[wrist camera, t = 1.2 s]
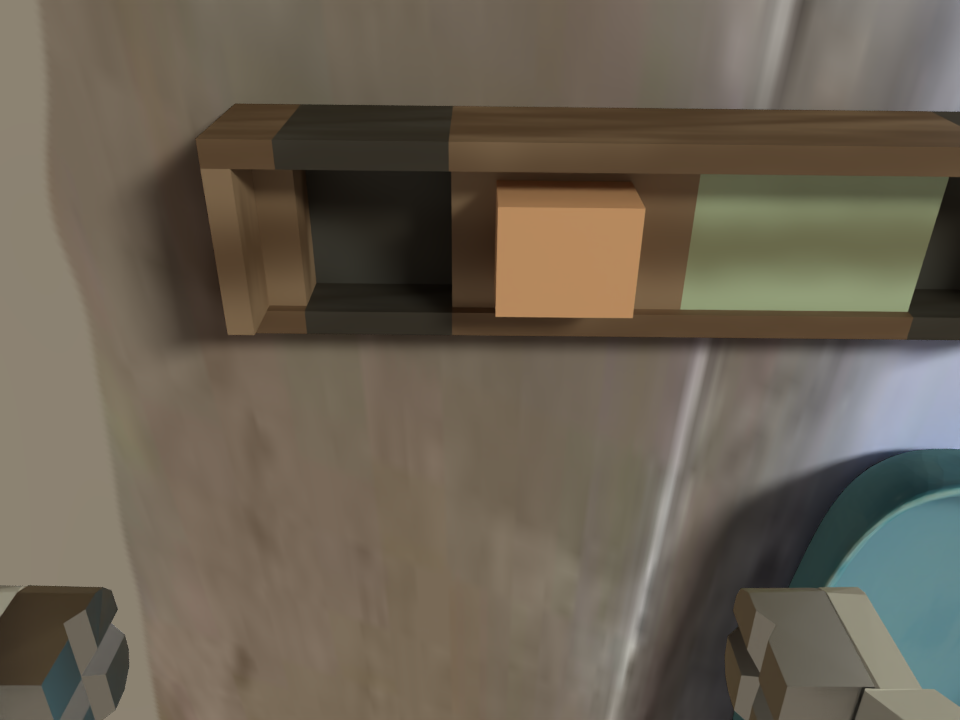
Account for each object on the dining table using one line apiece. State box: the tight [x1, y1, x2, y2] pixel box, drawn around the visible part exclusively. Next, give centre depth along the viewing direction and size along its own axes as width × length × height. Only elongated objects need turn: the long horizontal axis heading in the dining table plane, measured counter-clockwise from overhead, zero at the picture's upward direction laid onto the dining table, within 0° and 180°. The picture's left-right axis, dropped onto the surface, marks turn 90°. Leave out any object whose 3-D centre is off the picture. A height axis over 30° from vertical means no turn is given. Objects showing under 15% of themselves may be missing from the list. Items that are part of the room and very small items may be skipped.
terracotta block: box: [494, 180, 646, 318], centre depth 36 cm, size 5×6×4 cm
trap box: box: [196, 104, 960, 340], centre depth 37 cm, size 10×40×6 cm, turn 89°
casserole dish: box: [732, 449, 960, 720], centre depth 51 cm, size 37×22×7 cm, turn 173°
